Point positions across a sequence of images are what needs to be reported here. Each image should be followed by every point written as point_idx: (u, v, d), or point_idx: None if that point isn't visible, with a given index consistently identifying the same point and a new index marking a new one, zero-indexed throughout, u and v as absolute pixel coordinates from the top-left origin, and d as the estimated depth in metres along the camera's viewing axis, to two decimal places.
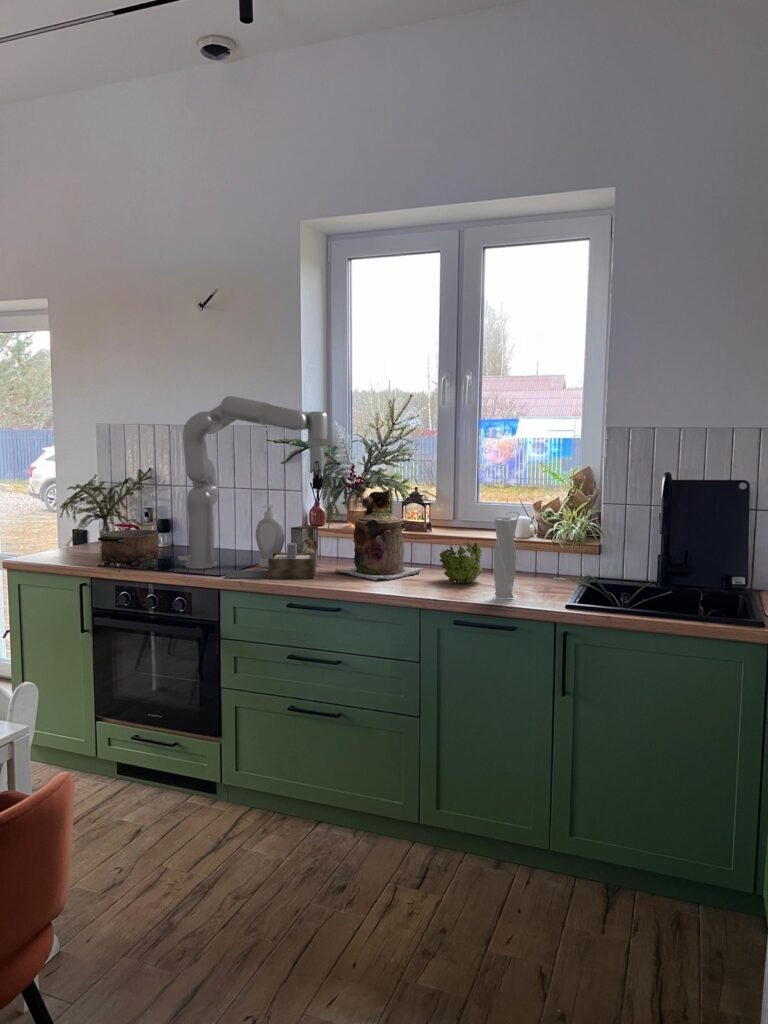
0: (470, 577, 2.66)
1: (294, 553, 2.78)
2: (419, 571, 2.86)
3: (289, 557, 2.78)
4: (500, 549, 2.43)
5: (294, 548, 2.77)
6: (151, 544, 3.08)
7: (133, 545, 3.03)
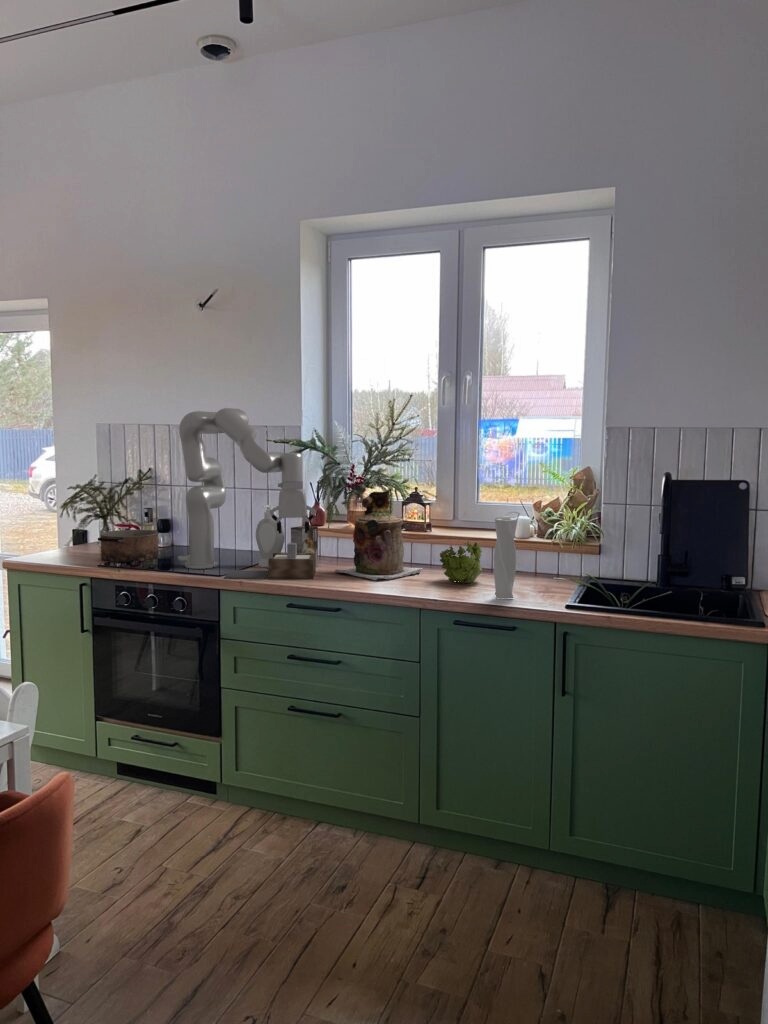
0: (470, 577, 2.66)
1: (294, 553, 2.78)
2: (419, 571, 2.86)
3: (289, 557, 2.78)
4: (500, 549, 2.43)
5: (294, 548, 2.77)
6: (151, 544, 3.09)
7: (133, 545, 3.03)
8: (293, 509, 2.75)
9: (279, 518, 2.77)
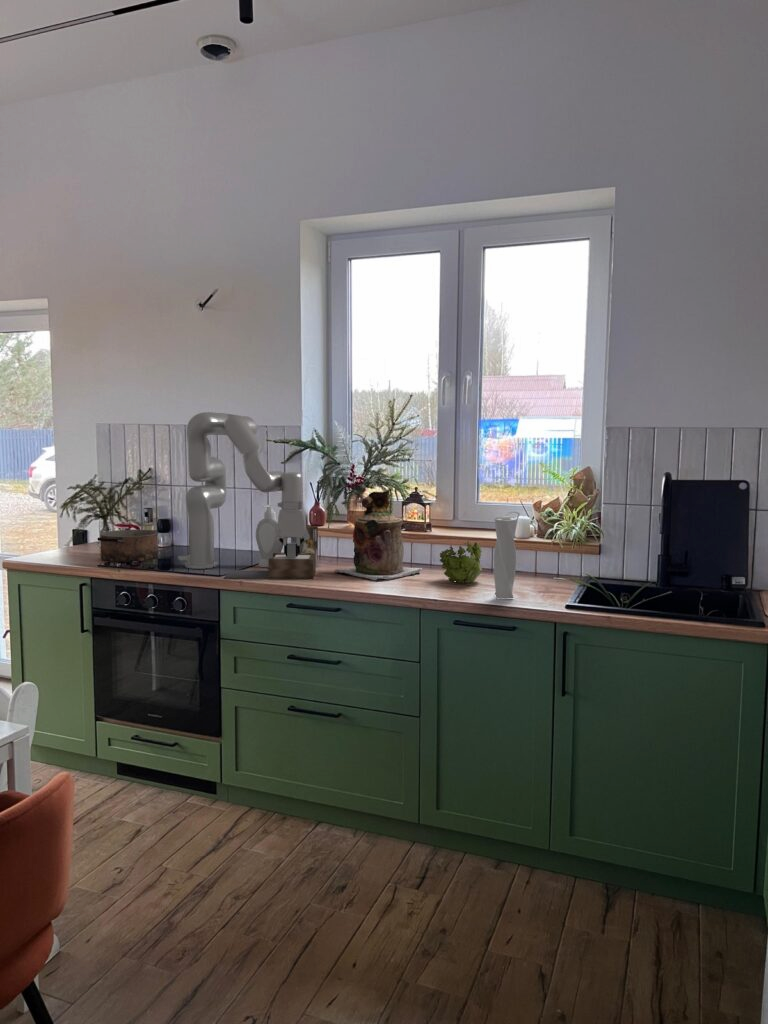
0: (470, 577, 2.66)
1: (294, 553, 2.78)
2: (418, 571, 2.86)
3: (289, 557, 2.78)
4: (500, 549, 2.43)
5: (294, 548, 2.77)
6: (150, 544, 3.09)
7: (132, 545, 3.03)
8: (293, 529, 2.76)
9: (286, 541, 2.78)
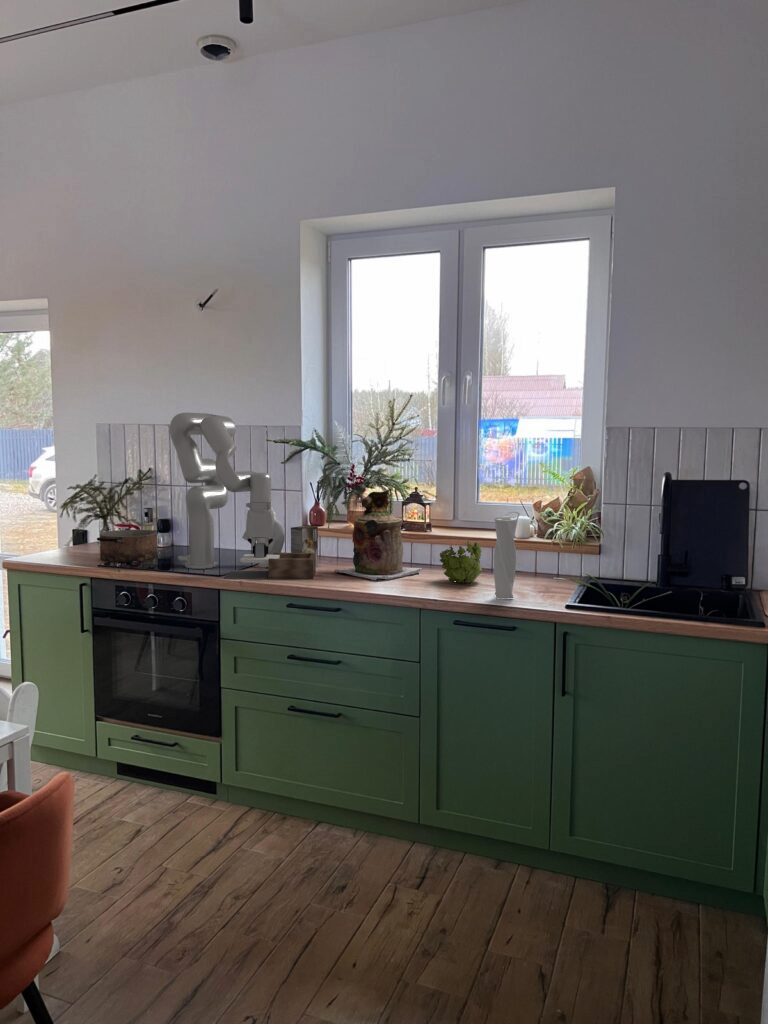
0: (470, 577, 2.66)
1: (262, 553, 2.77)
2: (418, 571, 2.86)
3: (257, 557, 2.77)
4: (500, 549, 2.43)
5: (262, 548, 2.77)
6: (150, 544, 3.09)
7: (132, 545, 3.03)
8: (261, 530, 2.76)
9: (255, 541, 2.78)
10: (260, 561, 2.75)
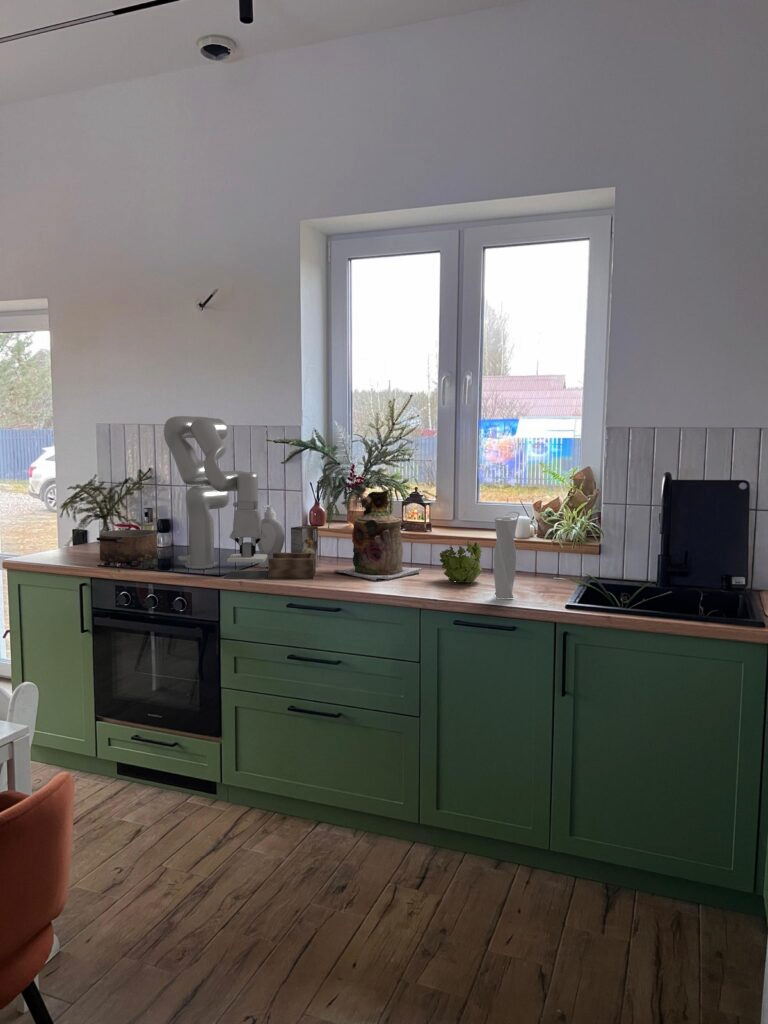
0: (470, 577, 2.66)
1: (249, 552, 2.77)
2: (418, 571, 2.86)
3: (244, 556, 2.77)
4: (500, 549, 2.43)
5: (249, 547, 2.77)
6: (149, 544, 3.09)
7: (132, 545, 3.03)
8: (248, 529, 2.76)
9: (242, 541, 2.78)
10: (247, 561, 2.74)
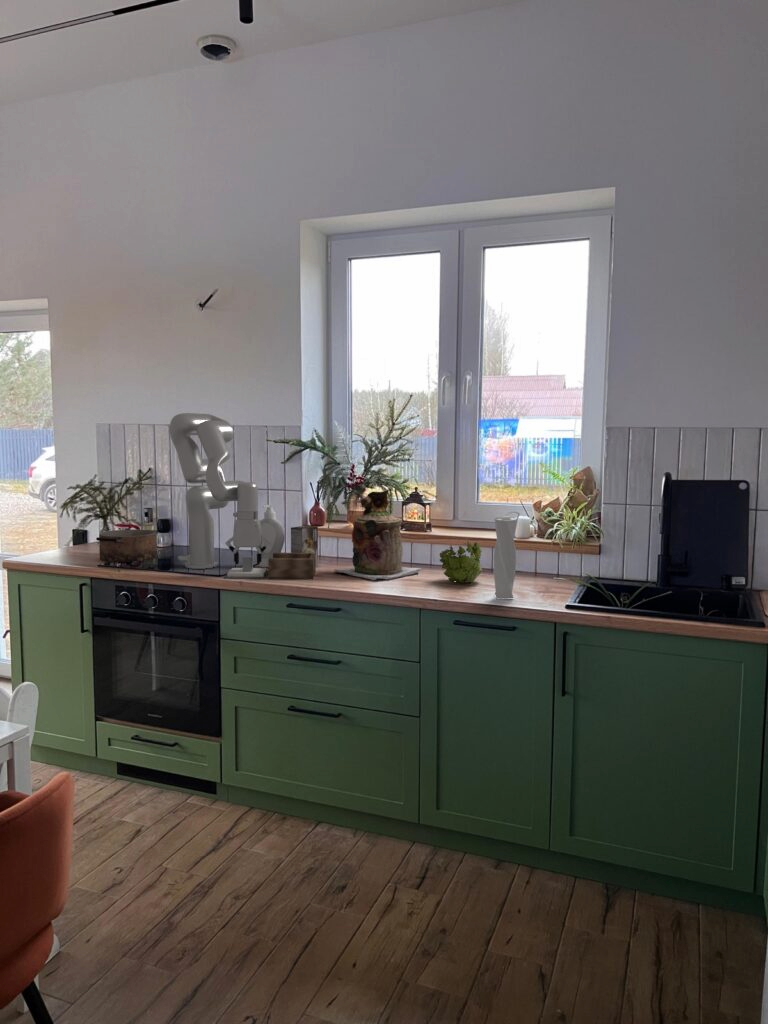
0: (470, 577, 2.66)
1: (249, 566, 2.78)
2: (417, 571, 2.86)
3: (244, 570, 2.78)
4: (500, 549, 2.43)
5: (249, 561, 2.77)
6: (149, 544, 3.09)
7: (131, 545, 3.03)
8: (248, 539, 2.76)
9: (236, 549, 2.78)
10: (247, 575, 2.75)
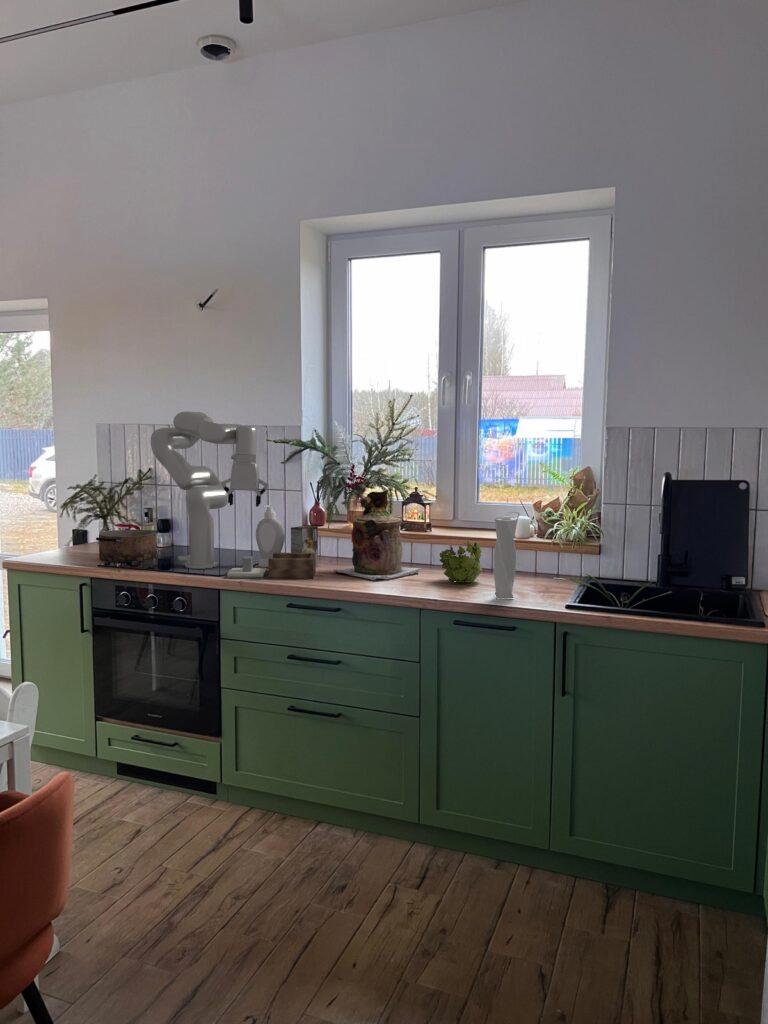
0: (470, 577, 2.66)
1: (249, 566, 2.78)
2: (417, 571, 2.86)
3: (244, 570, 2.78)
4: (500, 549, 2.43)
5: (249, 561, 2.77)
6: (149, 544, 3.09)
7: (131, 545, 3.03)
8: (245, 482, 2.77)
9: (231, 490, 2.79)
10: (247, 575, 2.75)
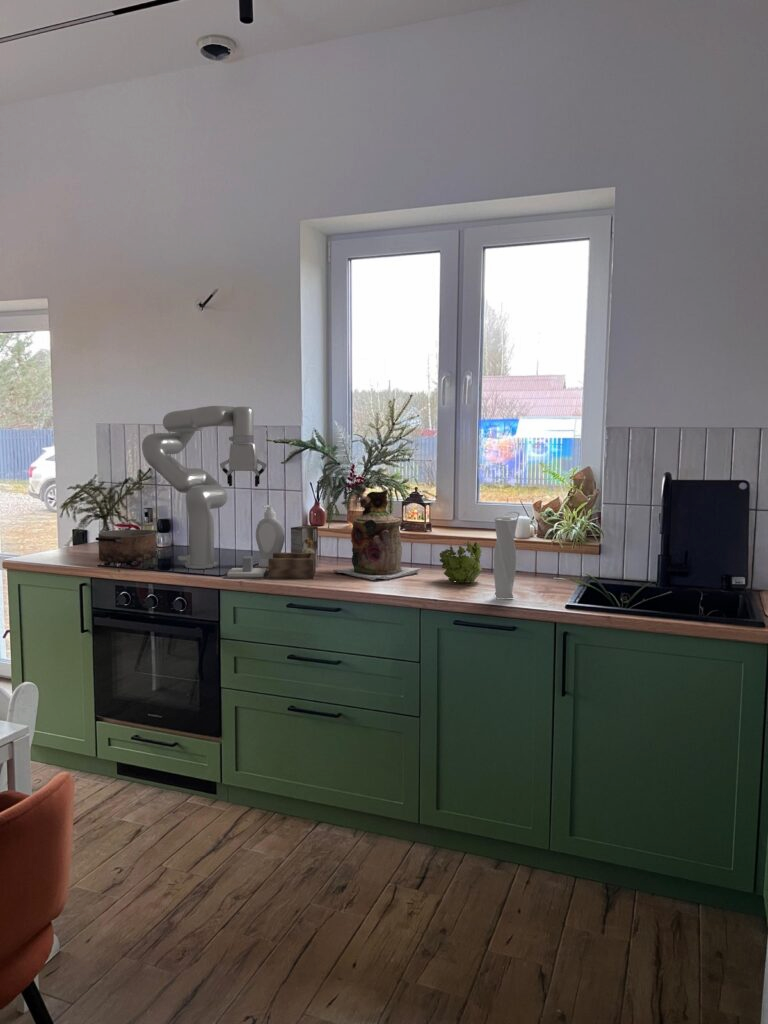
0: (470, 577, 2.66)
1: (249, 566, 2.78)
2: (417, 571, 2.86)
3: (244, 570, 2.78)
4: (500, 549, 2.43)
5: (249, 561, 2.77)
6: (148, 544, 3.09)
7: (130, 545, 3.04)
8: (244, 462, 2.80)
9: (229, 471, 2.82)
10: (247, 575, 2.75)
